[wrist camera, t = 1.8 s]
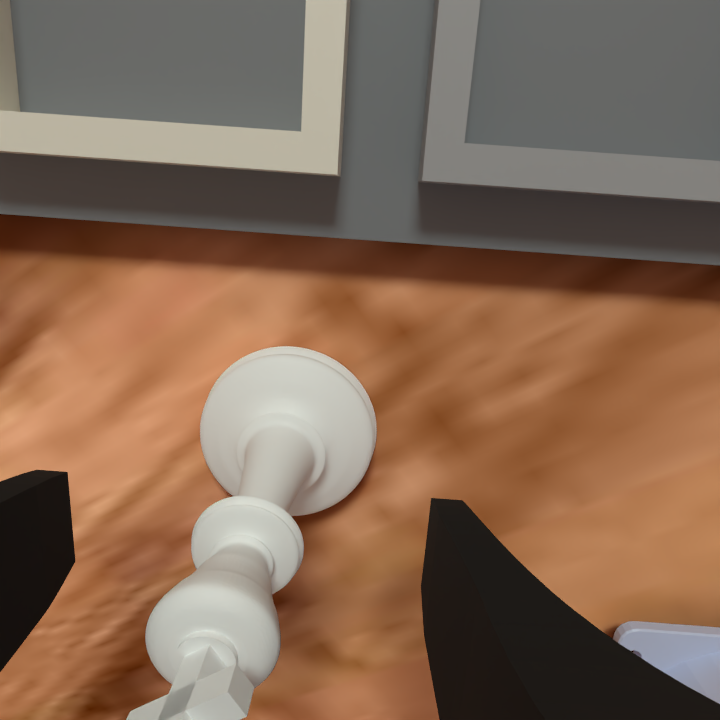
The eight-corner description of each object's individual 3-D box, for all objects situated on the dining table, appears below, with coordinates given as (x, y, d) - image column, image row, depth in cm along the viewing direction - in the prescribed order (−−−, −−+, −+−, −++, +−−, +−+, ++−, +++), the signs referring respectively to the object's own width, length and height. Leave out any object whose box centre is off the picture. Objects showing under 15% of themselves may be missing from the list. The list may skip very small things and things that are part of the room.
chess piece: (407, 460, 16) (455, 847, 7) (263, 532, 17) (115, 971, 7) (320, 313, 15) (223, 520, 5) (170, 397, 16) (-148, 708, 6)
